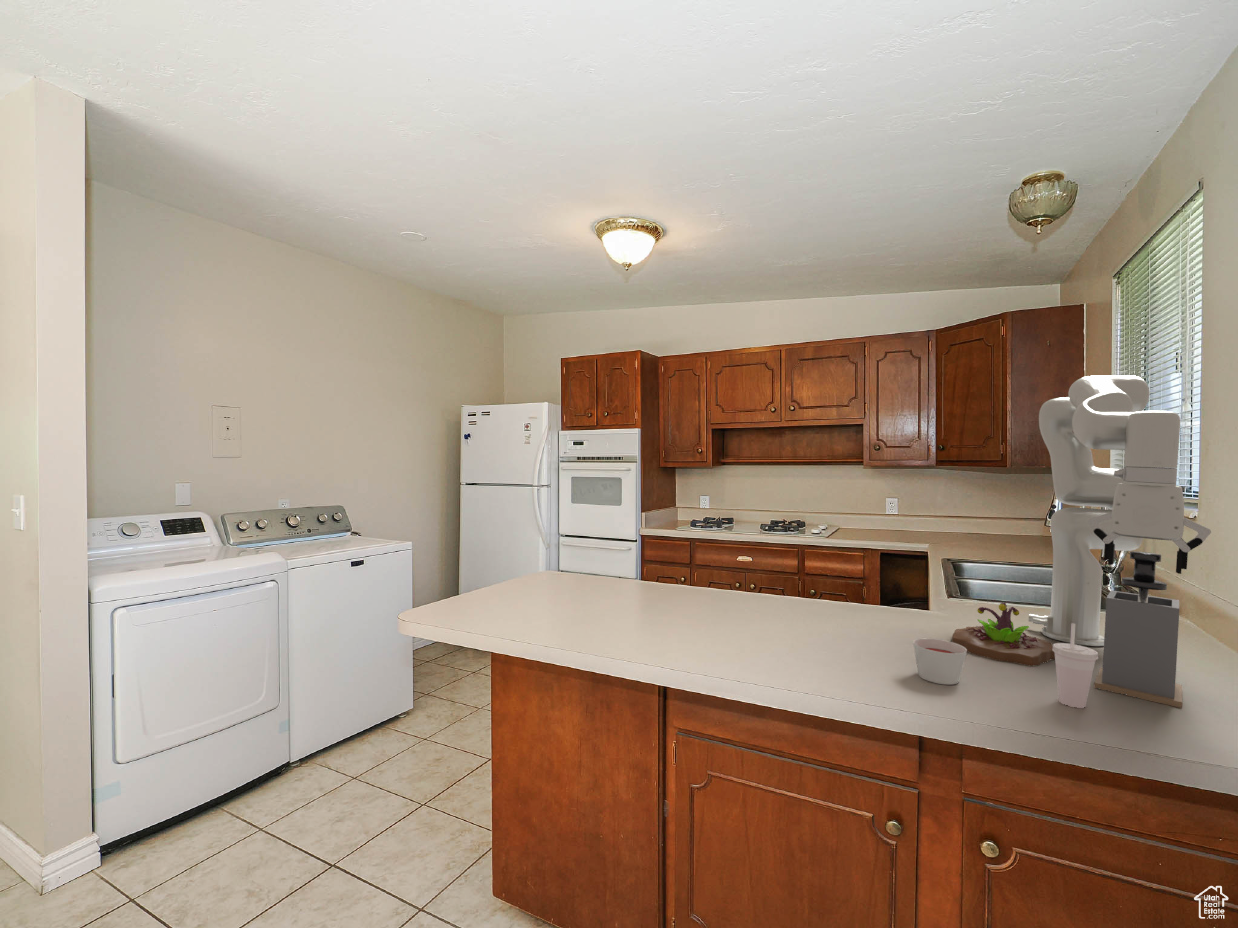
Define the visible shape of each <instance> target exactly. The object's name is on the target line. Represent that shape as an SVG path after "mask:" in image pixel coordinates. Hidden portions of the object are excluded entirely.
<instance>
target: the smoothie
mask: <svg viewBox="0 0 1238 928" xmlns="http://www.w3.org/2000/svg"><path fill="white" fill-rule="evenodd" d="M1074 641H1075V624H1074V623H1071V641H1070V643H1067V642H1057V643H1056V642H1055V643H1053V644H1052V645H1053V649H1052V651H1054V653H1055V660H1054V663H1055V672H1056V681H1057V683H1056V684H1057V693H1058V702H1059V703H1060V702H1061V703H1060V704H1062V705H1064V704H1065V705H1064V706H1066V705H1068V706H1067V707H1070V708H1074V707H1077V708H1076V709H1085V708H1086V706H1087V702H1088V697H1089V693H1090V688H1091V683H1092V677H1093V673H1094V669H1095V664H1096V660H1099V653H1098V651H1096V650H1095V649H1092V648H1090V647H1087V646H1085V645H1078V644H1074ZM1084 707H1085V708H1084Z"/></svg>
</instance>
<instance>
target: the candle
mask: <svg viewBox="0 0 1238 928" xmlns="http://www.w3.org/2000/svg"><path fill="white" fill-rule="evenodd" d="M913 649H914V658H915V661H916V670H917V674H918V676H919V677H920V678H921V679H923V680H925V681H927V682H930V683H934V684H939V685H949V686H950V685H951V686H952V685H956V684H958V683H959V682H960V679H961V676H962V671H963V669H964V668H963V667H964V664H965V661H966V657H967V653H968V652H967V649H966V648H965V647H963V646H961V645H959V644H956V643H953V642H952V641H949V640H943V639H938V638H931V637H930V638H928V637H925V638H923V637H922V638H916V639H913Z"/></svg>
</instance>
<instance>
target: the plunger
mask: <svg viewBox="0 0 1238 928" xmlns="http://www.w3.org/2000/svg"><path fill="white" fill-rule="evenodd" d="M1129 559H1131V560H1134V562H1133V563H1134V565H1133V577H1121V585H1124V586H1126V587H1131V588H1138V591H1137V594H1138V602H1144V603H1148V596H1149V590H1151V591H1167V590H1168V583H1166V582H1164V581H1159V580H1156V567H1157V566H1156V564H1157V563H1160V562H1162V554H1160V553H1156V552H1154V553H1153V552H1147V551H1137V550H1131V551H1129Z"/></svg>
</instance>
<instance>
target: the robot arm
mask: <svg viewBox="0 0 1238 928" xmlns="http://www.w3.org/2000/svg"><path fill="white" fill-rule="evenodd" d="M1067 395H1068V396H1066V397H1064V396H1063V397H1056V398H1055V397H1054V398H1052V399H1049V400H1047V401H1045V402H1043V404H1041V407H1040V409H1039V412H1038V426H1039V431H1040V435H1041V437H1042V439H1043V440H1042V441H1043V442H1044V444H1045V446H1046V448H1047V451H1048V452H1049V456H1050V457H1049V458H1050V465H1051V473H1052V475H1051V476H1052V483H1053V484H1052V485H1053V491H1054V495H1055V498H1056V499H1057V501H1058V502H1059V503H1061V504H1064V505H1069V506H1077V507H1064V508H1061V509H1058V510H1056V511H1055V512H1054V513H1053V514H1052V516H1051V517H1050V522H1049V523H1050V524H1049V526H1050V534H1051V541H1052V575H1051V577H1052V579H1051V597H1050V613H1049V614H1048V615H1044V616H1043V615H1042V616H1041V615H1038V614H1033V613H1029V614H1028V622H1031V623H1032V624H1035V625H1041V626H1042V625H1043V626H1044V627H1042V628H1041V634H1042V635H1044V636H1045V637H1048V638H1049V639H1053V640H1056V641H1059V642H1062V643H1068V644H1070V641H1071V623H1074V624H1075V641H1074V644H1075V645H1080V646H1085V647H1087V646H1088V647H1104V635H1101V634H1100V622H1101V621H1100V619H1101V605H1102V604H1101V602H1102V584H1103V567H1102V565H1101V563H1100V562H1099V560H1098V559H1097V558H1096V557H1095V556H1094V554H1093V553H1092V552H1091V550H1104V551H1103V552H1104V553H1103V560H1104V561H1106V560H1107V565H1108V566H1112V565H1114V564H1115V563H1114V562H1115V552H1116V551H1119V552H1121V551H1122V552H1127V551H1128V552H1130V551H1136V550H1137V549H1139V548H1140V547H1141V545H1142V543H1143V541H1144V539H1148V540H1149V539H1150V540H1157V541H1159V540H1161V541H1169V542H1170V541H1172V542H1173V543H1174V544H1175V546H1177V547H1178V550H1177V551H1176V562H1175V563H1176V566H1175V573H1177V574H1180V575H1181V574H1182V570H1187V569H1188V557H1189V556H1188V555H1189V552H1191V551H1192V550H1194V549H1195V548H1197V547H1199V546H1201V545H1202V544H1203V542H1205V540H1206V539H1207V538H1208V537H1209V536H1210V534H1211V533H1212V531H1211V529H1210V528H1208V527H1206V526H1204V525H1202V524H1200V523H1197V522H1195V521H1193V520H1190V519H1189V518H1187V517H1185V502H1184V501H1185V498H1184V493H1183V487H1182V486H1178V485H1177V482H1178V481H1177V478H1178V463H1179V462H1178V461H1179V447H1180V446H1179V445H1180V435H1181V434H1180V432H1181V417H1180V415H1179V414H1178V413H1177V412H1175V411H1167V410H1144V409H1145V408H1146V407H1147V405H1148V402H1149V399H1150V387H1149V385H1148V383H1147V381H1146V380H1144V379H1143V378H1142V377H1140V376H1136V375H1128V374H1127V375H1126V374H1125V375H1120V374H1119V375H1090V376H1089V375H1087V376H1083V377H1081V378H1079V379H1076V380H1075V381H1074V382H1073V383H1072V384H1071V385H1070V387H1069V389H1068V394H1067ZM1092 450H1101V451H1102V450H1105V451H1108V450H1111V451H1113V450H1115V451H1117V450H1118V451H1124V459H1123V460H1124V461H1123V468H1121V469H1119V468H1105V467H1104V468H1102V467H1097V466H1095V463H1094V457H1093V452H1092ZM1079 506H1080V507H1079ZM1088 507H1092V508H1088ZM1093 507H1094V508H1093ZM1095 507H1096V508H1095ZM1097 507H1098V508H1097ZM1100 508H1101V509H1100ZM1103 508H1106V509H1103ZM1185 527H1187V528H1190V530H1192V531H1196V532H1197V534H1196V535H1195V537H1194V538H1193V539H1191V540H1189V541H1187V542H1186V541H1185V540H1184V538H1183V535H1184V531H1185Z"/></svg>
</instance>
